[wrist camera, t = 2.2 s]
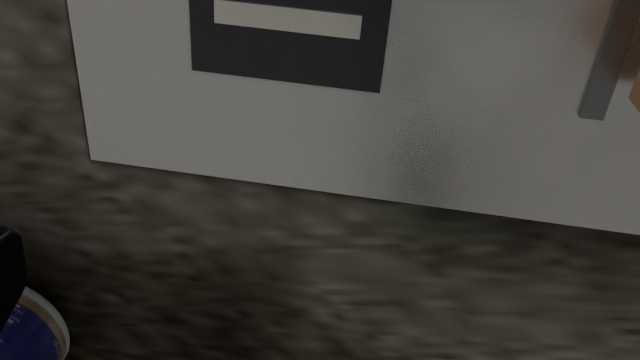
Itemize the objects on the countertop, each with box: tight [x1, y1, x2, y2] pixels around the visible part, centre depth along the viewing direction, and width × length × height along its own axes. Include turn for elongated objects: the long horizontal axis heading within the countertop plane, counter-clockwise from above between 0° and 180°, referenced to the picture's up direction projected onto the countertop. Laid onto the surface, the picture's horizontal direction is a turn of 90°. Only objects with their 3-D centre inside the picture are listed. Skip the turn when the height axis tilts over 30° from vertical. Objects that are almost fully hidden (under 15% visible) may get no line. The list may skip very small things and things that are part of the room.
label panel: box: [67, 0, 640, 235], centre depth 17 cm, size 14×30×1 cm, turn 86°
